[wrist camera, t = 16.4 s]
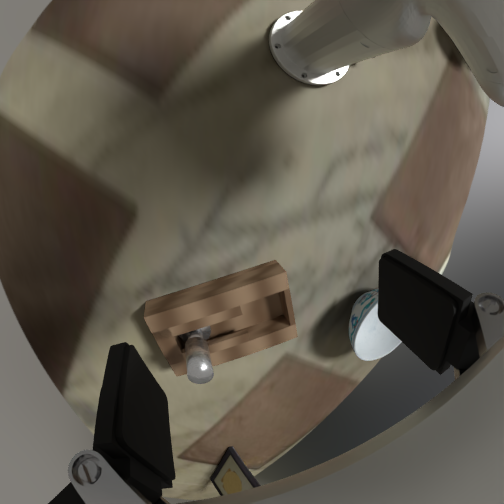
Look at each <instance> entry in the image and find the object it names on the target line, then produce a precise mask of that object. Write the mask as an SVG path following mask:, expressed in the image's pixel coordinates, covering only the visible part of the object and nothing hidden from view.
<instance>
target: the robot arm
mask: <svg viewBox="0 0 504 504" xmlns="http://www.w3.org/2000/svg"><path fill="white" fill-rule="evenodd" d="M431 16H432V17H433V18H434V19H435V20H436V21H437V22H438V23H439V24H440V25H441V26H442V28H443V29H444V30H445V32H446V33H447V34H448V35H449V36H450V38H451V39H452V41H453V42H454V44H455V45H456V47H457V48H458V50H459V51H460V53H461V54H462V56H463V58H464V59H465V61H466V63H467V64H468V66H469V68H470V69H471V71H472V73H473V74H474V76H475V78H476V79H477V81H478V83H479V84H480V86H481V88H482V89H483V90H484V92H485V93H486V94H487V95H488V96H489V97H490V98H491V99H492V100H493V101H494V102H496V103H497V104H499V105H500V106H503V107H504V0H315V1H314V2H313V3H311V4H310V5H309V6H308V7H307V8H305V9H304V10H303V11H293V12H288V13H286V14H284V15H282V16H281V17H280V18H279V19H277V21H276V22H275V23H274V24H273V26H272V28H271V30H270V34H269V46H270V50H271V53H272V55H273V57H274V59H275V60H276V62H277V63H278V65H279V66H280V67H281V68H282V69H283V70H284V71H285V72H286V73H287V74H289V75H290V76H291V77H293V78H295V79H296V80H298V81H301V82H303V83H306V84H311V85H327V84H330V83H333V82H335V81H337V80H339V79H340V78H342V77H343V76H344V75H345V73H346V72H347V70H348V67H349V65H351V64H354V63H357V62H360V61H363V60H366V59H369V58H375V57H376V56H378V55H382V54H385V53H389V52H392V51H396V50H399V49H403V48H407V47H410V46H412V45H414V44H416V43H418V42H419V41H420V40H421V39H422V38H423V37H424V35H425V33H426V32H427V30H428V27H429V24H430V20H431ZM275 47H277V48H275ZM301 75H302V76H303V77H302V76H301ZM471 298H472V293H470V292H468V291H467V290H465V289H464V288H462V287H460V286H459V285H457V284H455V283H454V282H452V281H451V280H449V279H447V278H446V277H444V276H442V275H441V274H439V273H437V272H436V271H434V270H432V269H431V268H429V267H427V266H425V265H424V264H422V263H420V262H418V261H417V260H415V259H413V258H411V257H409V256H408V255H406V254H404V253H402V252H400V251H398V250H396V249H393V250H391V251H389V252H386V253H384V254H383V255H382V256H381V259H380V260H379V290H378V313H377V314H378V318H379V320H380V322H381V323H382V324H383V325H384V326H386V327H387V328H388V329H389V330H390V331H391V332H392V333H393V334H394V335H395V336H396V337H397V338H399V339H400V340H401V341H402V342H403V343H404V344H405V345H406V346H407V347H408V348H409V349H410V350H412V352H414V353H415V354H416V355H417V356H418V357H419V358H420V359H421V360H422V361H423V362H424V363H425V364H426V365H427V366H428V367H429V368H430V369H432V370H436V371H437V372H438V373H439V374H442V373H443V372H444V371H445V370H447V369H448V368H449V367H450V365H452V366H454V374H455V381H454V382H453V383H451V384H450V385H449V386H448V387H447V388H445V389H444V390H443V391H442V392H440V393H439V394H438V395H437V396H435V397H434V398H433V399H431V400H430V401H429V402H427V403H426V404H425V405H423V406H422V407H421V408H419V409H418V410H416V411H415V412H414V413H412V414H411V415H409V416H408V417H406V418H405V419H403V420H402V421H400V422H399V423H397V424H396V425H394V426H392V427H391V428H389V429H387V430H386V431H384V432H383V433H381V434H379V435H378V436H376V437H374V438H372V439H370V440H369V441H367V442H365V443H363V444H361V445H359V446H358V447H356V448H354V449H352V450H350V451H348V452H346V453H344V454H342V455H340V456H338V457H336V458H333V459H331V460H329V461H327V462H325V463H322V464H320V465H318V466H315V467H313V468H310V469H308V470H305V471H303V472H300V473H298V474H295V475H292V476H290V477H287V478H284V479H281V480H278V481H275V482H272V483H269V484H265V485H262V486H259V487H255V488H252V489H248V490H244V491H240V492H236V493H232V494H227V495H223V496H219V497H214V498H209V499H204V500H198V501H192V502H185V503H178V504H504V299H502V298H501V297H500V296H498V295H496V294H493V293H482V294H479V295H478V296H477V297H476V298H475V301H474V303H473V302H471ZM68 475H69V478H70V481H71V482H70V483H69V484H68V485H67V486H66V487H65V488H64V489H63V490H62V491H61V492H60V493H59V494H58V495H57V496H56V497H55V498H54V499H53V500H52V501H50V502H49V503H48V504H170V503H169V502H168V501H166V500H165V499H164V498H163V497H162V489H163V488H172V487H173V486H172V480H174V479H175V469H174V462H173V454H172V445H171V436H170V425H169V413H168V401H167V397H166V394H165V393H164V391H163V390H162V388H161V387H160V385H159V384H158V382H157V381H156V380H155V378H154V377H153V375H152V374H151V372H150V371H149V369H148V368H147V366H146V365H145V363H144V361H143V360H142V358H141V357H140V355H139V353H138V352H137V350H136V349H135V347H134V346H133V345H129V344H128V343H126V342H124V343H120V344H116V345H112V346H111V347H110V350H109V355H108V359H107V364H106V369H105V374H104V379H103V385H102V388H101V392H100V397H99V404H98V410H97V417H96V425H95V433H94V443H93V450H84V451H81V452H79V453H77V454H76V455H75V456H74V457H73V458H72V460H71V462H70V463H69V467H68Z"/></svg>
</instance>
